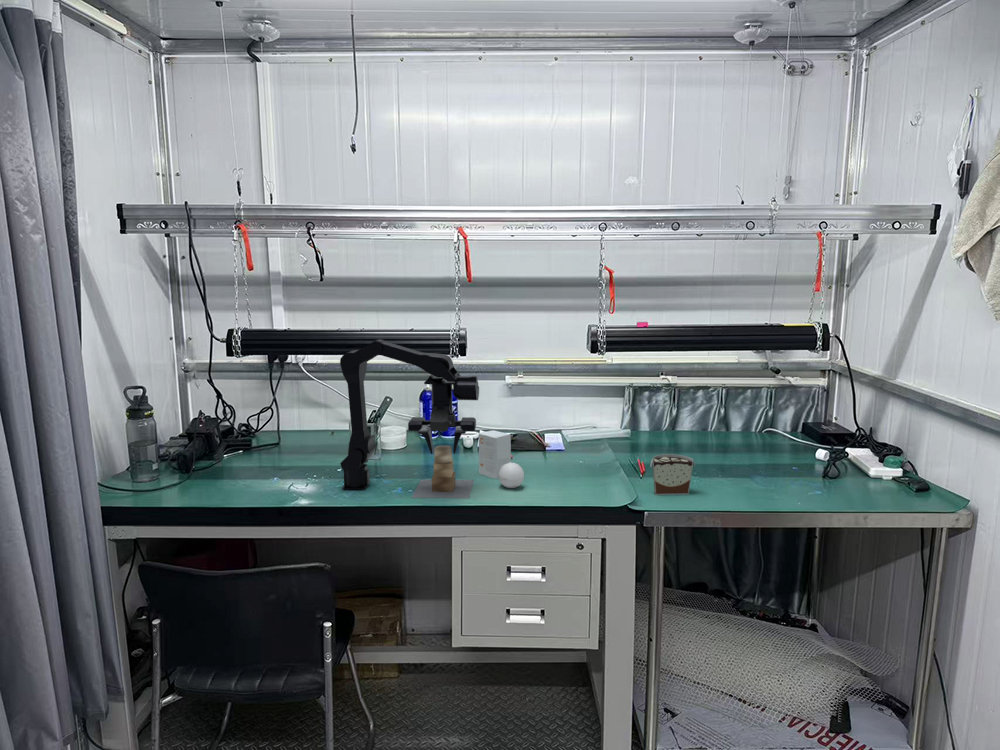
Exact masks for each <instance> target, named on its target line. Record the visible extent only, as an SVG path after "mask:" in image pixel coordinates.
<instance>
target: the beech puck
mask: <svg viewBox="0 0 1000 750" xmlns="http://www.w3.org/2000/svg"><path fill="white" fill-rule="evenodd" d="M452 449H453V447H452V446H450V445H437V446H433V453H434V454H433V456H434V457H433V458H434V462H435V463H438V464H447V463H451V462H452V459H453V450H452ZM434 462H433V463H434Z"/></svg>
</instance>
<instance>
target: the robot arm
mask: <svg viewBox="0 0 1000 750" xmlns="http://www.w3.org/2000/svg"><path fill="white" fill-rule="evenodd" d="M378 356H382V357H385V358H389V359H391V360H395V361H399V362H402V363H406V364H407V365H408V364H409V365H411V366H415V367H418V368H419V369H421V370H423V371H424V372H425V373H427V374H429V376H428V378H427V379H426V380H425V381H424V382H423V383H424V385H431V413H430V418H429V420H426V418H425V417H421V416H418V417H417V416H414V417H412V418H411V419H410V420H409V421H408V422H407V424H408V425H407V429H408V431H409V432H417V433H418V434H420V435H422V436H423V438H424V440H425V441H426V442H425V443H427V447H428V450H429V451H430V452H429V453H430V454H431V455H434V454H433V453H434V444H433V435H432V432H444V433H445V432H447V431H449V428H455V432H454V437H453V438H454V440H453V447H452V449H453V450H452V454H453V455H455V454H456V452H457V448H458V446H459V441H460V439H461V436H462V435H465V434H466V433H467V432H475V431H476V429H477V419H476V417H471V416H470V417H463V416H462V418H461V419H460V420H456V419H457V418H456V413H455V412H453V397H454V398H456V399H457V401H479V397H480V386H479V381H478V376H477V375H470V376H466V375H465V376H461V374H460V373H459V372H458V370H457V369H456V367H454V362H453V360H452V358H451V356H449V355H448V354H444V353H443V354H442V353H437V352H435V353H434V352H422V351H419V350H415V349H413V348H408V347H405V346H403V345H398V344H396V343H391V342H389V341H386V340H384V339H376V340H373V341H372V342H371V343H369V344H368V345H366V346H364V347H361V348H360V349H356V350H351V351H349V352H346V353H344V354H343V355H342V356H341V357H340V360H339V364H340V369H341V371H342V372H341V373H342V376H343V377H344V380H345V382H346V383H347V391H348V404H349V405H348V406H349V417H350V427H351V432H350V433H351V434H350V438H349V442H348V448H347V449H348V451H347V456H346V457H345V458H344V459H343V460H342V461H341V462H340V463H339V465H340V466H341V469H342V470H343V486H342V490H352V491H353V490H354V491H355V490H360V491H361V490H362V491H363V490H366V489H367V487H368V486H369V485H370V482H371V480H370V479H371V478H370V476H371V475H370V469H368V464H367V463H368V462H369V459H370V458H371V457H372V456H373V454H374V453H375V449H376V448H377V445H376V434H371V433H370V431H369V428H368V420H367V419H368V418H367V417H368V416H367V408H366V396H365V385H364V384H365V383H364V382H365V377H366V374H367V369H368V367H367V366H368V362H369V361H371V360H372V359H374V358H375V357H378Z"/></svg>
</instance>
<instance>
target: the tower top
mask: <svg viewBox="0 0 1000 750" xmlns="http://www.w3.org/2000/svg"><path fill="white" fill-rule="evenodd" d="M453 472H454V459H453V458H452V462H451V463H447V464H438V463H435V462H433V474H434V478H452V475H453Z"/></svg>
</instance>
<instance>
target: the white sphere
mask: <svg viewBox="0 0 1000 750" xmlns="http://www.w3.org/2000/svg"><path fill="white" fill-rule="evenodd" d="M524 472H525V471H524V469H523V467H521V466H520V464H518V463H515V462H511V463H507V464H505V465H504V466H502V467H501V469H500V471H499V478H498V480H499V481H500V483H501V484H502V485H503V486H504V487H505V488H508V489H515V488H518V487H519V486H520V485H522V483H523V482H524V478H525V473H524ZM493 476H496V475H493Z"/></svg>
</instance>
